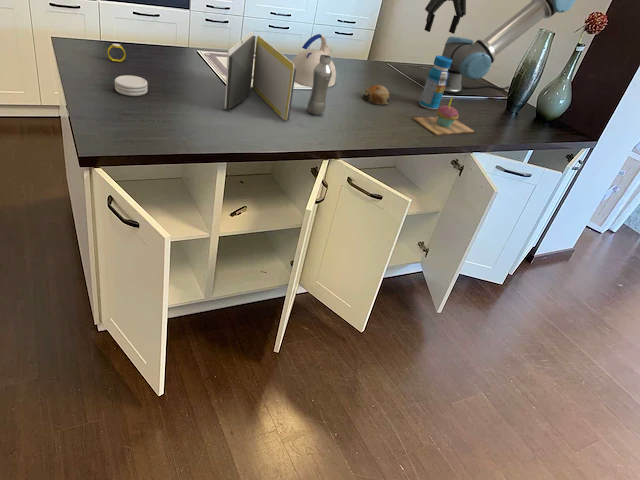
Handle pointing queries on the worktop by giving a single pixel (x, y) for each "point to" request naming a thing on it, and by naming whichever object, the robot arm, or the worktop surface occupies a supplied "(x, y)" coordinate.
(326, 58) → the plastic bottle
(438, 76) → the beverage bottle
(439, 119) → the cupcake
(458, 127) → the light brown flat board
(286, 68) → the grey folded panel
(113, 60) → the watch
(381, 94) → the bread roll
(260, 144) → the worktop surface
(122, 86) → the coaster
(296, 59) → the kettle
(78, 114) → the worktop surface
